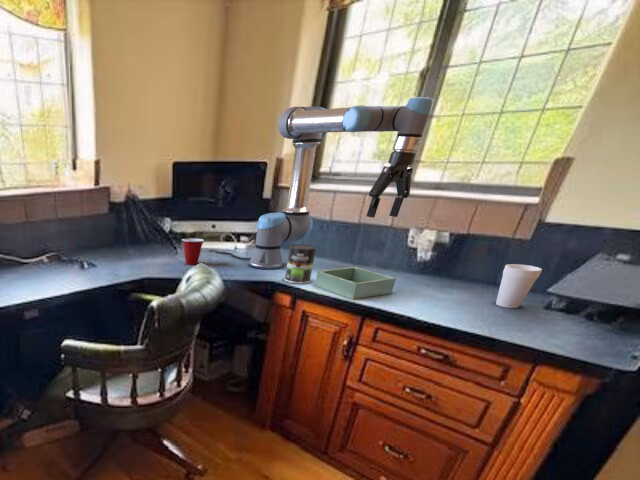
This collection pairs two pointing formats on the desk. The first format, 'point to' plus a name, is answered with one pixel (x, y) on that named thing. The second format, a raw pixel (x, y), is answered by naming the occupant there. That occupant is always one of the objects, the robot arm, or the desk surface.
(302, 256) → the coffee can
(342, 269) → the tray
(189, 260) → the plastic cup
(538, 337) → the desk surface
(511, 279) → the foam cup
